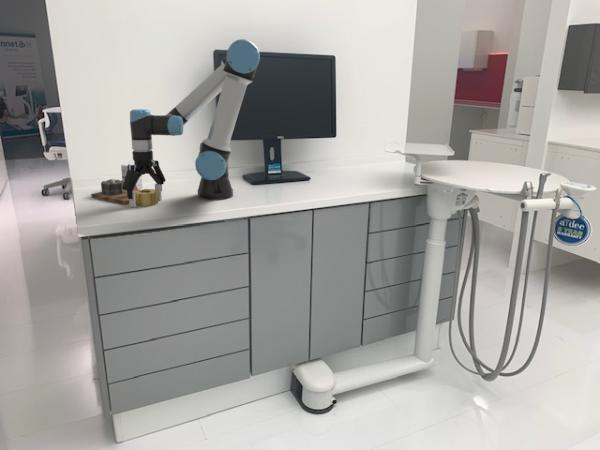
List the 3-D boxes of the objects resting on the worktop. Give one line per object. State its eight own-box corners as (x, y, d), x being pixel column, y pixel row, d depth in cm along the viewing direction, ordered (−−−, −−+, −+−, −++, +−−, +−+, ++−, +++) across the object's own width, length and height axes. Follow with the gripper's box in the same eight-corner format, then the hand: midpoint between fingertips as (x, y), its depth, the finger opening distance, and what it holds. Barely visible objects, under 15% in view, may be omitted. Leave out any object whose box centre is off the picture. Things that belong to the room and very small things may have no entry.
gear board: (151, 197, 201) (150, 181, 199) (125, 204, 190) (123, 187, 188) (118, 191, 211) (117, 175, 209) (91, 197, 199) (89, 181, 197)
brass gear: (162, 202, 194) (161, 190, 192) (146, 207, 187) (145, 195, 185) (147, 199, 198) (146, 187, 196) (130, 204, 191) (129, 192, 189)
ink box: (132, 192, 209) (130, 165, 205) (122, 191, 210) (120, 165, 206) (143, 188, 217) (141, 162, 213) (133, 187, 218) (131, 161, 214)
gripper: (159, 145, 198) (162, 195, 204) (109, 153, 177) (114, 208, 184) (172, 147, 194) (175, 198, 201) (123, 155, 174) (128, 211, 180)
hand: (146, 203), depth 192 cm, fingers open, 13 cm apart
